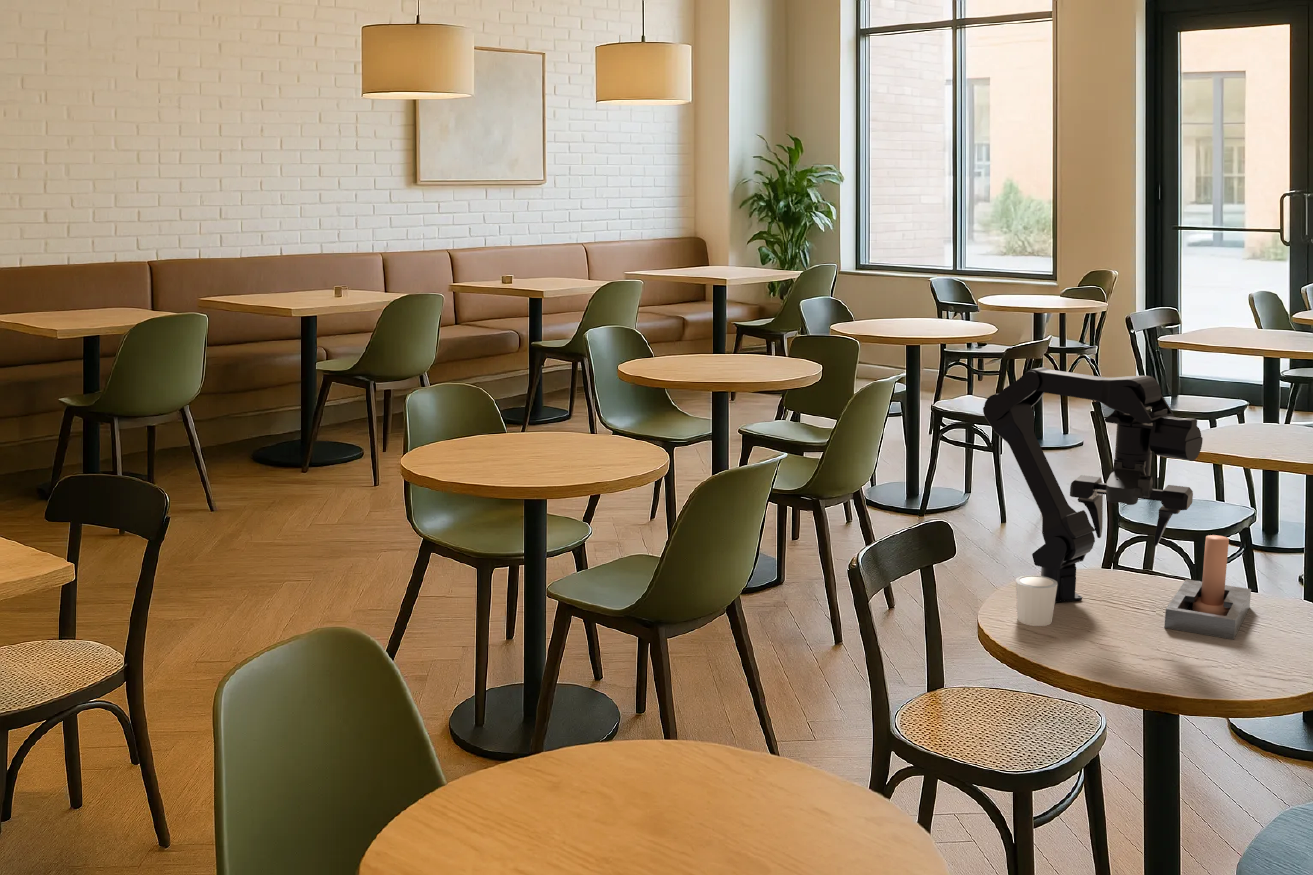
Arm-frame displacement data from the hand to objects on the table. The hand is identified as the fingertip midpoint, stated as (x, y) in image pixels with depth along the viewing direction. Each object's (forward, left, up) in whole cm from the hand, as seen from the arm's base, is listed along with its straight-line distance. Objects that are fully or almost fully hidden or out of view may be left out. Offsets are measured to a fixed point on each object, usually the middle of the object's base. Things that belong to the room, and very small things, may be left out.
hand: (1127, 541), depth 209 cm
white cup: (-1, -16, -13) cm, 21 cm away
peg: (+2, +16, -13) cm, 20 cm away
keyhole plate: (+5, +13, -13) cm, 19 cm away
